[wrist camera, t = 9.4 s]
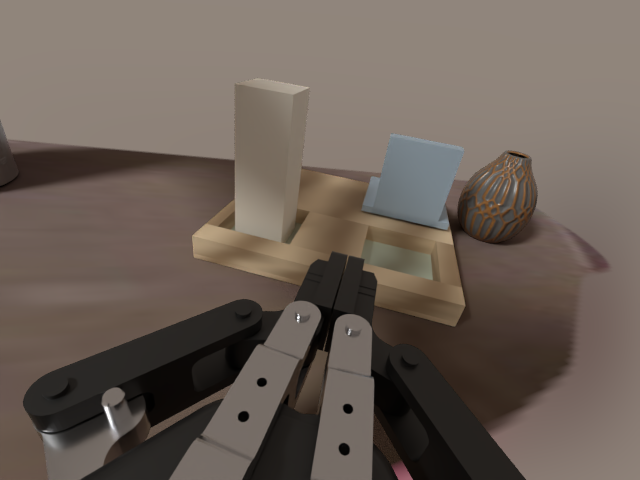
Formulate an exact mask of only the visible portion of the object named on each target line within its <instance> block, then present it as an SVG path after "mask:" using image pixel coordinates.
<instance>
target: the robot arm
mask: <svg viewBox="0 0 640 480" xmlns="http://www.w3.org/2000/svg"><path fill="white" fill-rule="evenodd" d="M18 173H19V171H18V168H17V165H16V163H15V160H14V157H13V154H12V152H11V149H10V146H9V143H8V141H7V138H6V135H5V132H4V129H3V126H2V124H1V121H0V186H2V185H4V184H6V183H8V182H10V181H11V180H13V179H14V178H15V177H16V176H17V175H18ZM347 257H348V255H346V254H342V253H338V252H334V251H332V253H331V255H330V258H329V260H328V261H325V260H321V259H317V260H316V261H315V262H313V263H312V264H311V265H310V267H309V269H308V271H307V274H306V276H305V278H304V280H303V282H302V285H301V287H300V289H299V291H298V294H297V296H296V298H295V300H294V302H292V303H290V304H289V305H288V306H287V307H286V308H285V309H284V310H281V311H262V308H261V306H260V305H259V304H258V303H256V302H254V301H252V300H248V299H241V300H236V301H233V302H231V303H228V304H225V305H223V306H220V307H218V308H215V309H212V310H210V311H207V312H205V313H202V314H200V315H197V316H194V317H192V318H189V319H187V320H184V321H181V322H179V323H176V324H174V325H171V326H168V327H166V328H163V329H161V330H158V331H155V332H153V333H150V334H148V335H145V336H143V337H140V338H137V339H135V340H132V341H130V342H127V343H124V344H122V345H119V346H117V347H114V348H111V349H109V350H106V351H104V352H101V353H99V354H96V355H93V356H91V357H88V358H86V359H83V360H80V361H78V362H75V363H73V364H70V365H67V366H65V367H62V368H60V369H57V370H54V371H52V372H50V373H48V374H46V375H44V376H42V377H41V378H39V379H38V380H37V381H36V382H34V383H33V384H32V385H31V387H30V388H29V389H28V390H27V392H26V394H25V396H24V400H23V406H24V408H25V410H26V412H27V413H28V415H29V417H30V418H31V420H32V422H33V426H34V428H35V430H36V432H37V433H38V435H39V436H40V438H41V440H42V441H43V443H44V450H45V458H46V465H47V473H48V480H398V478H397V476H396V474H395V472H394V470H393V468H392V467H391V465H390V463H389V462H388V460H387V459H386V457H385V456H384V454H383V453H382V452H381V451H380V450H379V449H378V448H377V447H376V446H375V445H374V444H373V412H374V413H375V414H376V416H377V418H378V420H379V421H380V423H381V425H382V426H383V428H384V430H385V432H386V433H387V435H388V437H389V439H390V440H391V442H392V444H393V446H394V447H395V449H396V451H397V453H398V454H399V456H400V458H401V459H402V461H403V463H404V465H405V466H406V468H407V470H408V472H409V473H410V475H411V477H412V478H413V480H526V479H525V478H524V477H523V476H522V474H521V473H520V472H519V471H518V469H517V468H516V467H515V465H514V464H513V463H512V462H511V461H510V459H509V458H508V457H507V456H506V454H505V453H504V452H503V451H502V449H501V448H500V447H499V446H498V445H497V443H496V442H495V441H494V439H493V438H492V437H491V436H490V435H489V433H488V432H487V431H486V430H485V428H484V427H483V426H482V425H481V423H480V422H479V421H478V420H477V418H476V417H475V416H474V415H473V413H472V412H471V411H470V410H469V409H468V407H467V406H466V405H465V404H464V402H463V401H462V400H461V399H460V397H459V396H458V395H457V394H456V392H455V391H454V390H453V389H452V387H451V386H450V385H449V384H448V382H447V381H446V380H445V379H444V378H443V376H442V375H441V374H440V373H439V371H438V370H437V369H436V368H435V366H434V365H433V364H432V363H431V361H430V360H429V359H428V358H427V356H426V355H425V354H424V353H423V352H422V351H421V350H419V349H418V348H416V347H414V346H412V345H408V344H399V345H396V346H394V347H392V346H390V345H388V344H387V343H385V342H383V341H382V340H381V339H379V338H378V337H377V336H376V334H375V333H374V331H373V329H372V317H373V310H374V303H375V296H376V289H377V282H378V281H377V279H376V277H375V274H374V273H372V272H368V271H364V270H363V266H364V261H365V259H363V258H359V257H355V256H351V255H349V257H348V261H347ZM346 262H347V264H346ZM345 266H346V268H345ZM344 270H345V271H344ZM328 330H329V332H328ZM327 334H328V336H327ZM326 337H327V341H326V345H325V350H324V351H326V352H328V356H327V360H326V365H325V369H324V374H323V380H322V386H321V392H320V397H319V403H318V409H317V414H316V415H315V414H301V413H299V412H297V411H295V410H294V408H295V405H296V402H297V400H298V398H299V395H300V393H301V390H302V388H303V385H304V383H305V380H306V378H307V375H308V373H309V371H310V368H311V365H312V362H313V360H314V358H315V355H316V352H317V349H319V350H322V351H323V347H324V344H325V340H326ZM231 384H233V385H232V387H231V388H230V390H229V391H228V393H227V395H226V396H225V398H224V399H220V400H217V401H214V402H212V403H210V404H207V405H205V406H204V407H202V408H200V409H198V410H197V411H195V412H193V413H192V414H190V415H188V416H187V417H185V418H183V419H182V420H180V421H178V422H176V423H175V424H173V425H171V426H170V427H168V428H166V429H165V430H163V431H161V432H160V433H158V434H156V435H154V436H153V437H151V438H149V439H148V440H146V441H145V439H146V438H147V436H148V434H149V431H150V428H151V427H153V426H155V425H157V424H158V423H160V422H162V421H164V420H166V419H168V418H170V417H171V416H173V415H175V414H177V413H179V412H181V411H183V410H184V409H186V408H188V407H190V406H192V405H194V404H196V403H197V402H199V401H201V400H203V399H205V398H207V397H209V396H210V395H212V394H214V393H216V392H218V391H220V390H222V389H223V388H225V387H227V386H229V385H231Z"/></svg>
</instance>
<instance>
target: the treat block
mask: <svg viewBox="0 0 640 480" xmlns="http://www.w3.org/2000/svg"><path fill="white" fill-rule="evenodd" d="M309 92H310V88H309V87H304V86H299V85H294V84H288V83H282V82H277V81H271V80H266V79H260V78H257V79H252V80H248V81H244V82H240V83H235V231H237V232H241V233H245V234H249V235H253V236H257V237H261V238H265V239H269V240H273V241H277V242H281V243H286V241H287V239H288V238H289V236H290V235H291V233H292V232H293V230H294V229H295V222H296V213H297V203H298V194H299V185H300V176H301V166H302V157H303V148H304V138H305V129H306V120H307V110H308V101H309Z"/></svg>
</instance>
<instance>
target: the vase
mask: <svg viewBox="0 0 640 480" xmlns="http://www.w3.org/2000/svg"><path fill="white" fill-rule="evenodd" d="M531 161H532V160H531V157H530V156H528V155H526V154H523V153H520V152H516V151H505V152H504V153H503V154H502V155H501V156H500V157H498V158H497V159H496V160H495V161H493V162H492V163H490V164H488V165H487V166H485V167H483V168H482V169H480V170H479V171H478V172H476V173H475V174H474V175H473V176H472V177H471V178H470V180H469V181H468V182H467V184H466V185H465V187H464V188H463V191H462V193H461V196H460V199H459V202H458V219H459V222H460V224H461V226H462V228H463V229H464V231H465V232H466V233H467V234H468V235H470V236H471V237H473V238H475V239H478V240H480V241H484V242H488V243H498V242H502V241H505V240H508V239H510V238H512V237H514V236H515V235H517V234H518V233H519V232H520V231H521V230H522V229H523V228H524V227H525V226H526V225H527V223H528V222H529V220H530V218H531V217H532V215H533V213H534V210H535V207H536V203H537V186H536V183H535V179H534V176H533V173H532V167H531Z"/></svg>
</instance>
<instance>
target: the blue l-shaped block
mask: <svg viewBox="0 0 640 480" xmlns="http://www.w3.org/2000/svg"><path fill="white" fill-rule="evenodd" d="M463 153H464V149H463V147H460V146H455V145H449V144H444V143H439V142H434V141H429V140H424V139H419V138H413V137H409V136H403V135H398V134H393V133H391V136H390V141H389V144H388V148H387V153H386V157H385V161H384V165H383V169H382V173H381V177H380V178H378V177H373V176H372V177H371V180H370V183H369V186H368V189H367V193H366V196H365V199H364V202H363V205H362V210H361V211H366V212H370V213H374V214H379V215H383V216H387V217H392V218H396V219H401V220H405V221H409V222H414V223H418V224H422V225H427V226H431V227H436V228H440V229H444V230H447V229H448V226H449V221H448V216H447V211H446V206H445V202H446V199H447V196H448V194H449V191H450V188H451V186H452V183H453V180H454V178H455V175H456V172H457V169H458V167H459V164H460V161H461V159H462V156H463Z"/></svg>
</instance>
